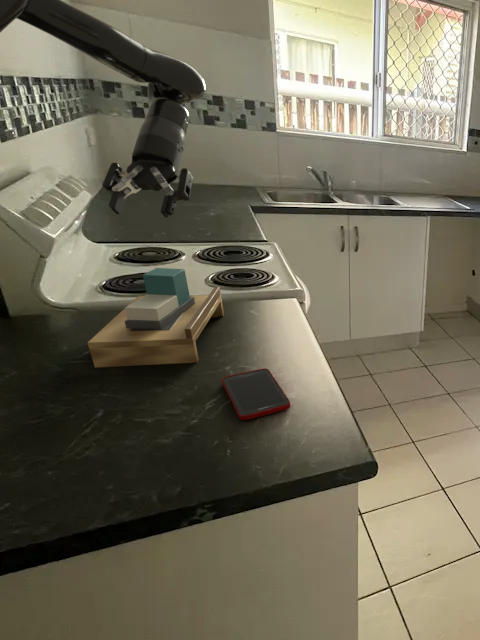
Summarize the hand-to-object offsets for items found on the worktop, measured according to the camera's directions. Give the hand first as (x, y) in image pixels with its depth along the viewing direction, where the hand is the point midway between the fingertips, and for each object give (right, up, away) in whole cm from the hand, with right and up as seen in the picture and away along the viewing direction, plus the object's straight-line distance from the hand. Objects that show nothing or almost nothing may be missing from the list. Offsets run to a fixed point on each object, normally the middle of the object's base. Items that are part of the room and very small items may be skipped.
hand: (140, 213), depth 90 cm
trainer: (0, -19, +5) cm, 20 cm away
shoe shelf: (0, -24, +7) cm, 25 cm away
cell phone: (+27, -34, -9) cm, 44 cm away
